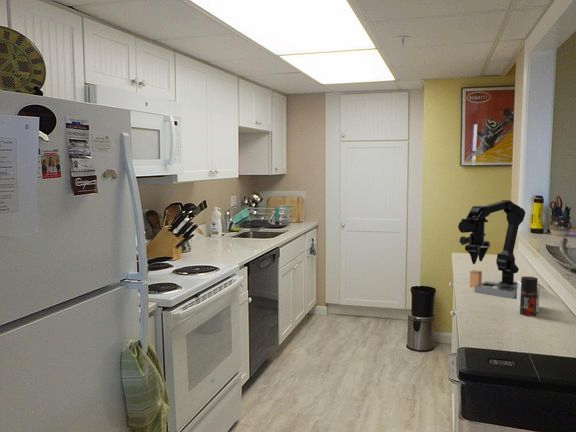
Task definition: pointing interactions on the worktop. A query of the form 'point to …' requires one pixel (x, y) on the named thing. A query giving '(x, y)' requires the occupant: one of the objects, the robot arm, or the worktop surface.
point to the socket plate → (497, 289)
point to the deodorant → (528, 296)
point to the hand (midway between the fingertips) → (477, 262)
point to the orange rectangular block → (475, 278)
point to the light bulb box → (520, 295)
